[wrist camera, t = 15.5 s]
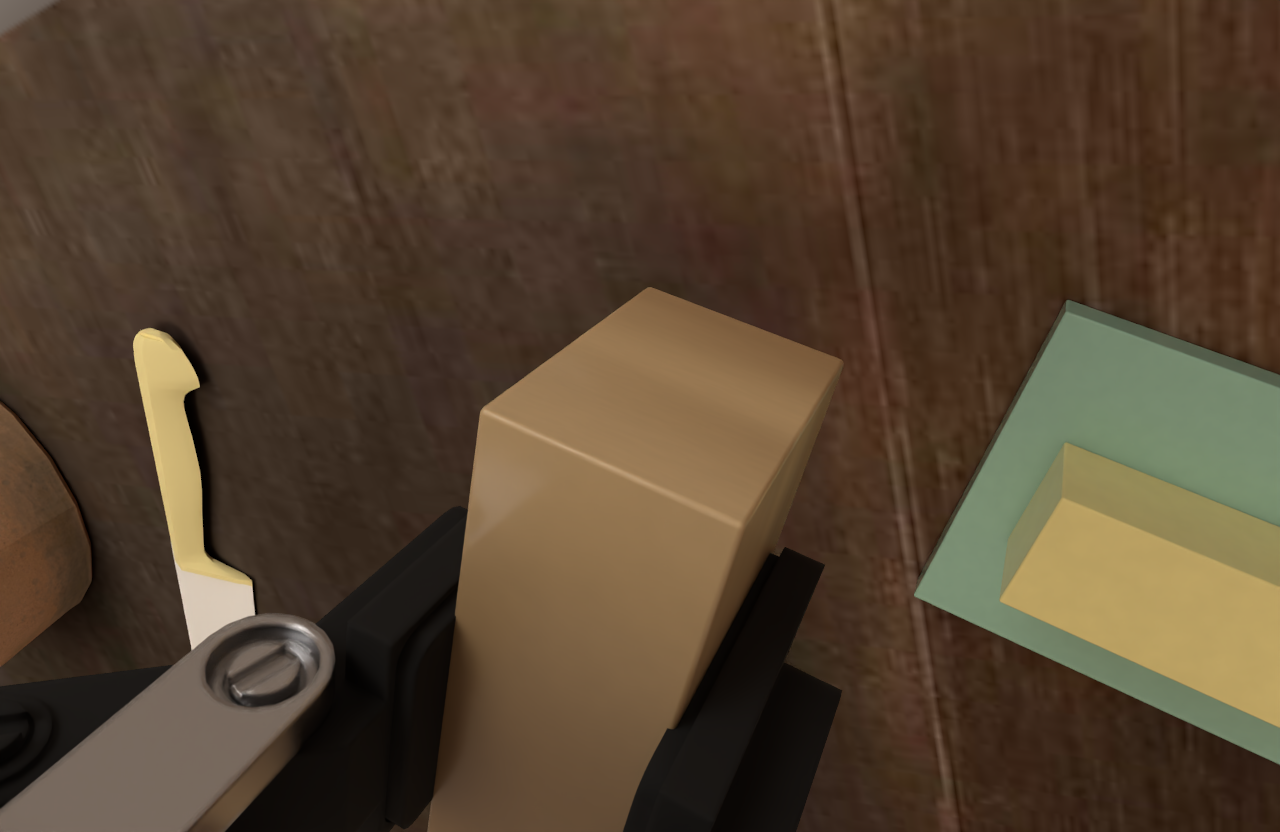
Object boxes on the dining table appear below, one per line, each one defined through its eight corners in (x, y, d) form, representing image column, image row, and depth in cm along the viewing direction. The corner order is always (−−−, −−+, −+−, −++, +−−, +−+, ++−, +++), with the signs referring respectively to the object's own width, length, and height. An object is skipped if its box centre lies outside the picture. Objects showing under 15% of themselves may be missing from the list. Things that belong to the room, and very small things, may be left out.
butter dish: (1066, 298, 22) (1062, 355, 19) (1718, 530, 19) (1846, 648, 16) (918, 577, 28) (895, 659, 25) (1403, 799, 24) (1451, 927, 21)
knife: (286, 810, 56) (219, 783, 56) (237, 345, 37) (139, 315, 38) (273, 828, 54) (205, 800, 55) (216, 358, 36) (116, 327, 37)
